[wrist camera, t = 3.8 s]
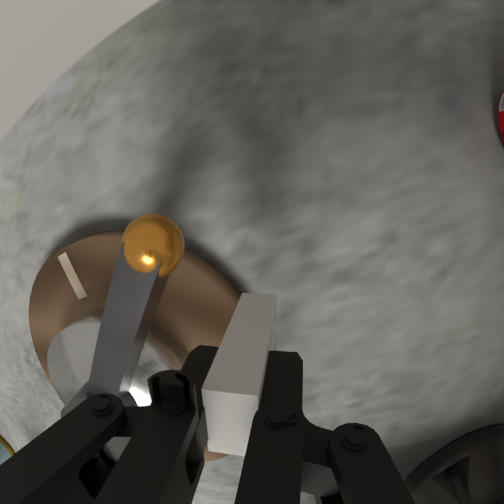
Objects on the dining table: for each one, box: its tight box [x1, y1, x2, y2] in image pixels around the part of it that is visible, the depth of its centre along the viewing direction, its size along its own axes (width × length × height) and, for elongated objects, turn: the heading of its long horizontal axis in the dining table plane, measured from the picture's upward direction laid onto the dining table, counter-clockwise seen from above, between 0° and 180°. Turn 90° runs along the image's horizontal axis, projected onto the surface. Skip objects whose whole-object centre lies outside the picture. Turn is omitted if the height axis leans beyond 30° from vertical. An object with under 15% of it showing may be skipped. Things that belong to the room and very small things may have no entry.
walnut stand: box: [29, 230, 241, 462], centre depth 24 cm, size 22×22×2 cm
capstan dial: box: [47, 213, 188, 418], centre depth 18 cm, size 20×12×7 cm, turn 155°
